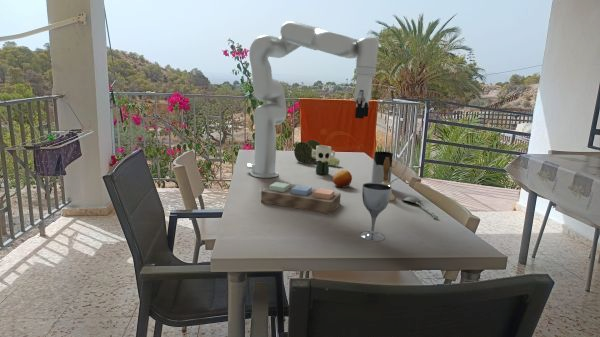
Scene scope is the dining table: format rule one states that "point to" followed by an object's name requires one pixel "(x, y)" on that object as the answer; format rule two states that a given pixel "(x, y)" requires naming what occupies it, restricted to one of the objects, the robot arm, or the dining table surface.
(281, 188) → the sage key
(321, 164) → the character mug
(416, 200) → the soupspoon
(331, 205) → the key panel
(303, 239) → the dining table surface
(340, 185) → the fruit
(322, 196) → the terracotta key
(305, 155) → the green broccoli
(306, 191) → the slate key
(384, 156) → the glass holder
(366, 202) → the wine glass
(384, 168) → the hand bell
